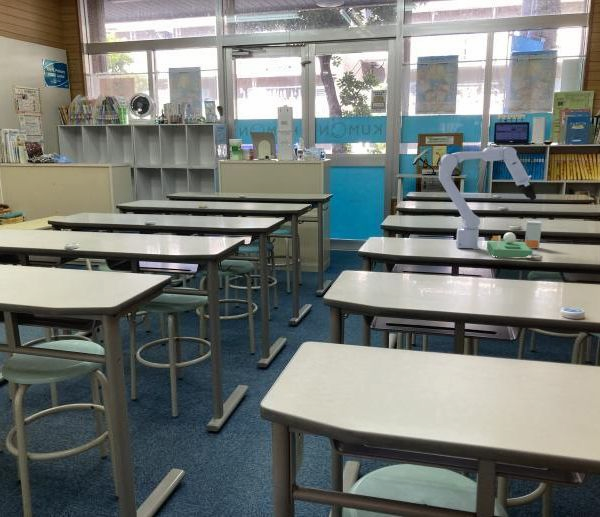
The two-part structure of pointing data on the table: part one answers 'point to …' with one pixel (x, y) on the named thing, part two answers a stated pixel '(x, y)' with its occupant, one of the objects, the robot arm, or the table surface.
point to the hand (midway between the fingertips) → (532, 198)
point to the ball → (509, 237)
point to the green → (507, 248)
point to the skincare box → (533, 234)
